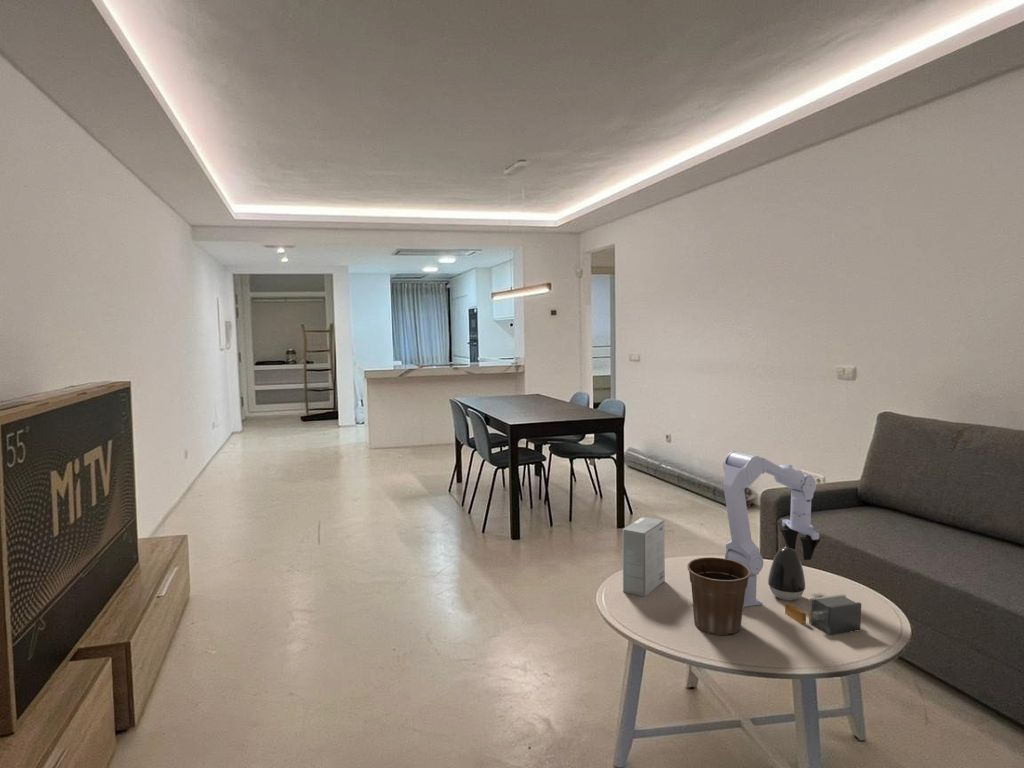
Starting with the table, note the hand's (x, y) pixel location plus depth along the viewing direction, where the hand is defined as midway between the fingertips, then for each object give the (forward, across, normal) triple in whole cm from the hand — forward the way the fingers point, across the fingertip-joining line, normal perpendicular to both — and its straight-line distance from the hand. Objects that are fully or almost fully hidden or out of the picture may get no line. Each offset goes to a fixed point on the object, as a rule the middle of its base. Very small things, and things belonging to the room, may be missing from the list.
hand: (799, 555), depth 199 cm
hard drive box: (+11, +13, +46) cm, 49 cm away
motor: (+10, -22, +8) cm, 26 cm away
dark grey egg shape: (+10, -6, +8) cm, 14 cm away
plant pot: (+11, -17, +38) cm, 43 cm away
